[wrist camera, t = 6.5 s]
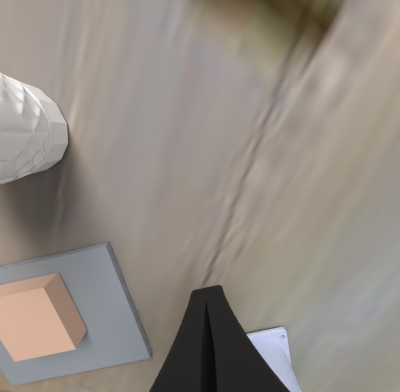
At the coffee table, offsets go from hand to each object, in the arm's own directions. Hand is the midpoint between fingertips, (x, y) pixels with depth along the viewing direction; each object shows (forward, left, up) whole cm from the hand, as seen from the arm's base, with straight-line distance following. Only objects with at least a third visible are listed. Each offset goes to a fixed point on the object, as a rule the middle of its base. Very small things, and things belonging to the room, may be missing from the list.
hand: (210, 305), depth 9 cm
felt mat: (-7, +17, -10) cm, 21 cm away
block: (-5, +14, -8) cm, 17 cm away
